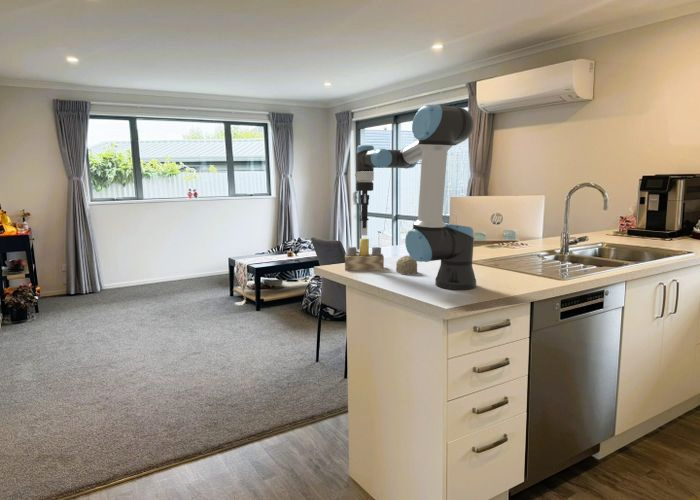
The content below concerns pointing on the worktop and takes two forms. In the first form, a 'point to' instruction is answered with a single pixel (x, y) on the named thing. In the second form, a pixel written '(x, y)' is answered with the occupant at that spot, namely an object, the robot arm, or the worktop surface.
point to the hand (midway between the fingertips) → (364, 235)
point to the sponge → (406, 265)
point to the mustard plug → (364, 247)
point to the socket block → (364, 262)
